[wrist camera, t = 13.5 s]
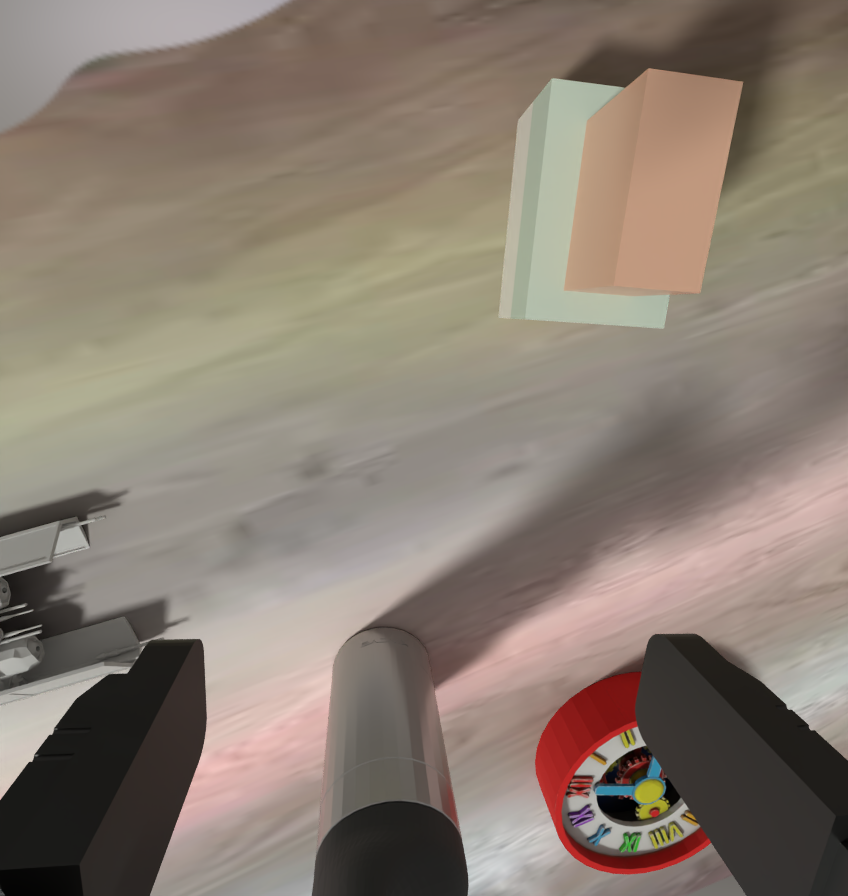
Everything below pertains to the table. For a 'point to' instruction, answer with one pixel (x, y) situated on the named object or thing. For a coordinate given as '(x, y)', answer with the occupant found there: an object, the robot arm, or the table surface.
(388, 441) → the table surface
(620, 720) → the toy clock
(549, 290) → the green and white block
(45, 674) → the spaceship toy
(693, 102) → the terracotta brick
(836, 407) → the table surface
